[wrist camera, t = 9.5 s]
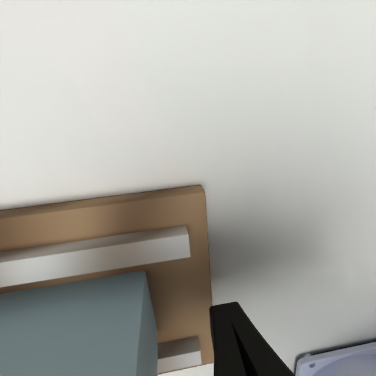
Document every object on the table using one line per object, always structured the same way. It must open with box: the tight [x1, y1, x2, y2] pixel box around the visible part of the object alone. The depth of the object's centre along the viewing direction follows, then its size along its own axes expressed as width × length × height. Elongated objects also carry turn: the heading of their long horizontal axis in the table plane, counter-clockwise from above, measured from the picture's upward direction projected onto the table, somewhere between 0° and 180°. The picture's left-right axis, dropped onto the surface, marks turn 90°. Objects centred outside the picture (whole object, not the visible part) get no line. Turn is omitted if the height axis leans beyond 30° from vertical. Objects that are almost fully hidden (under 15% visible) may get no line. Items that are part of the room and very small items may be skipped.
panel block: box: [0, 270, 158, 376], centre depth 8 cm, size 7×4×5 cm, turn 95°
